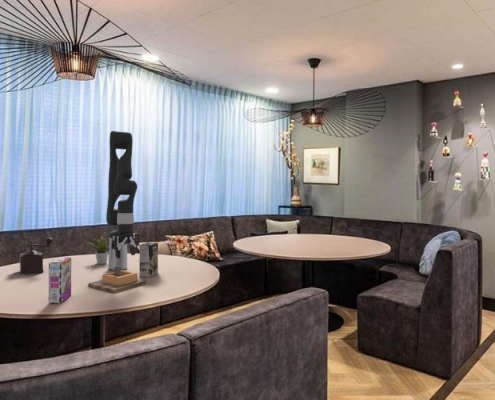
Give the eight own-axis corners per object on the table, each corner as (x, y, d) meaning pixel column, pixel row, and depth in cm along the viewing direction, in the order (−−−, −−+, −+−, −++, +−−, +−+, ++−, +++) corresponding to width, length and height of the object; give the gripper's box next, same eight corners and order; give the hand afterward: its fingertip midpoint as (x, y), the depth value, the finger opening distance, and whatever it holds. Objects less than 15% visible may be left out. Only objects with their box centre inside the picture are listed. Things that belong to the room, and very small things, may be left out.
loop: (102, 282, 176) (102, 274, 175) (121, 277, 185) (121, 269, 185) (118, 285, 170) (118, 277, 170) (137, 280, 179) (137, 273, 179)
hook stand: (88, 286, 173) (88, 266, 173) (120, 278, 188) (120, 260, 188) (113, 293, 164) (113, 272, 163) (145, 283, 179) (145, 264, 178)
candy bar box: (61, 304, 149) (61, 262, 148) (48, 304, 148) (47, 262, 147) (72, 295, 160) (71, 256, 159) (59, 295, 159) (59, 256, 158)
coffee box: (150, 277, 191) (150, 245, 190) (139, 276, 192) (138, 244, 192) (158, 273, 200) (158, 242, 199) (147, 272, 201) (147, 242, 200)
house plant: (106, 258, 234) (106, 232, 233) (120, 261, 226) (120, 234, 225) (85, 262, 222) (85, 235, 222) (99, 266, 214) (98, 237, 214)
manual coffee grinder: (20, 275, 192) (19, 240, 191) (19, 271, 201) (19, 237, 200) (54, 271, 200) (54, 237, 199) (52, 267, 209) (52, 235, 208)
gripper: (132, 220, 187) (132, 253, 187) (107, 223, 175) (107, 258, 175) (142, 221, 183) (142, 255, 183) (118, 224, 171) (118, 260, 171)
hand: (125, 256), depth 179 cm, fingers open, 8 cm apart
